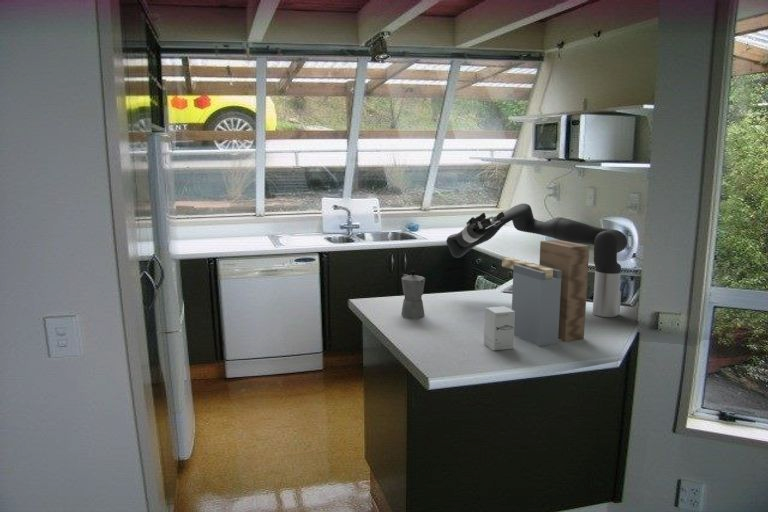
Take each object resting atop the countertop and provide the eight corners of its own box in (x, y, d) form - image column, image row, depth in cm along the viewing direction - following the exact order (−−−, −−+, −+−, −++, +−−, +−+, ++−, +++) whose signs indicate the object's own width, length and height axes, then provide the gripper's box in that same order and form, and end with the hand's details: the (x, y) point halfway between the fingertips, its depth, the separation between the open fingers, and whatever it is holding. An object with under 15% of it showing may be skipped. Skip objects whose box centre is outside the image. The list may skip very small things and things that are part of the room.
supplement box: (493, 351, 176) (494, 312, 174) (483, 343, 183) (484, 307, 181) (514, 349, 178) (515, 311, 176) (503, 341, 185) (504, 305, 183)
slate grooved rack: (529, 330, 197) (532, 262, 193) (557, 342, 184) (561, 270, 180) (510, 333, 194) (513, 264, 190) (538, 346, 181) (541, 272, 176)
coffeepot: (432, 317, 214) (433, 272, 211) (413, 321, 209) (413, 274, 206) (409, 308, 227) (409, 265, 223) (390, 312, 221) (390, 268, 218)
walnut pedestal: (554, 326, 202) (558, 239, 196) (583, 338, 188) (589, 245, 182) (536, 329, 199) (540, 241, 193) (565, 341, 185) (570, 247, 179)
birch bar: (501, 266, 201) (502, 258, 200) (508, 265, 202) (509, 257, 201) (545, 279, 179) (545, 270, 178) (552, 278, 180) (553, 269, 179)
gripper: (457, 223, 229) (476, 206, 215) (486, 221, 234) (506, 205, 220) (461, 240, 227) (480, 224, 212) (491, 238, 232) (511, 222, 218)
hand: (494, 214), depth 216 cm, fingers open, 8 cm apart
